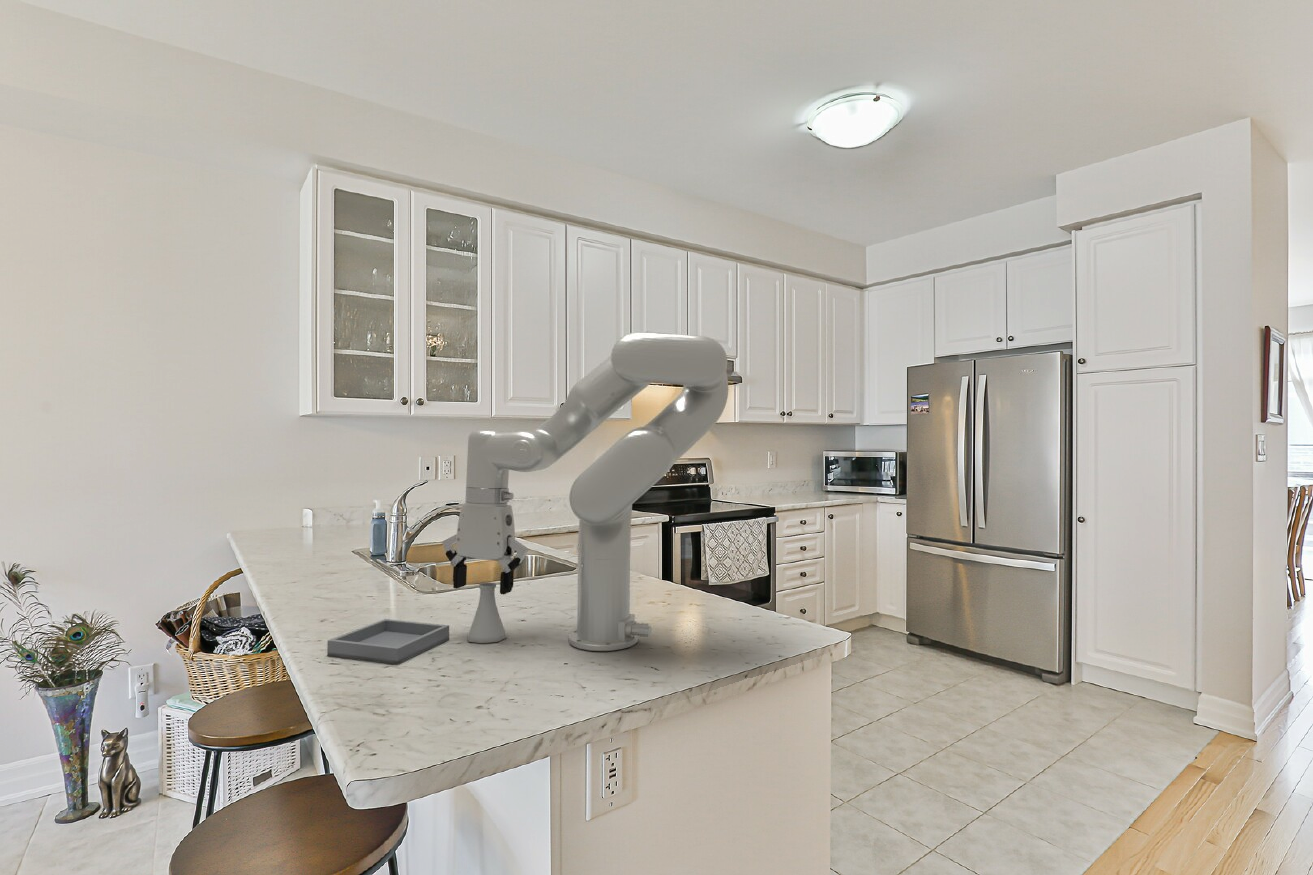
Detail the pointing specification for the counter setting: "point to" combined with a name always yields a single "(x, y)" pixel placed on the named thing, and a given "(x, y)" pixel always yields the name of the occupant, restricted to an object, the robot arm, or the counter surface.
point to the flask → (487, 618)
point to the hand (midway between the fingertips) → (482, 589)
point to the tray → (388, 641)
